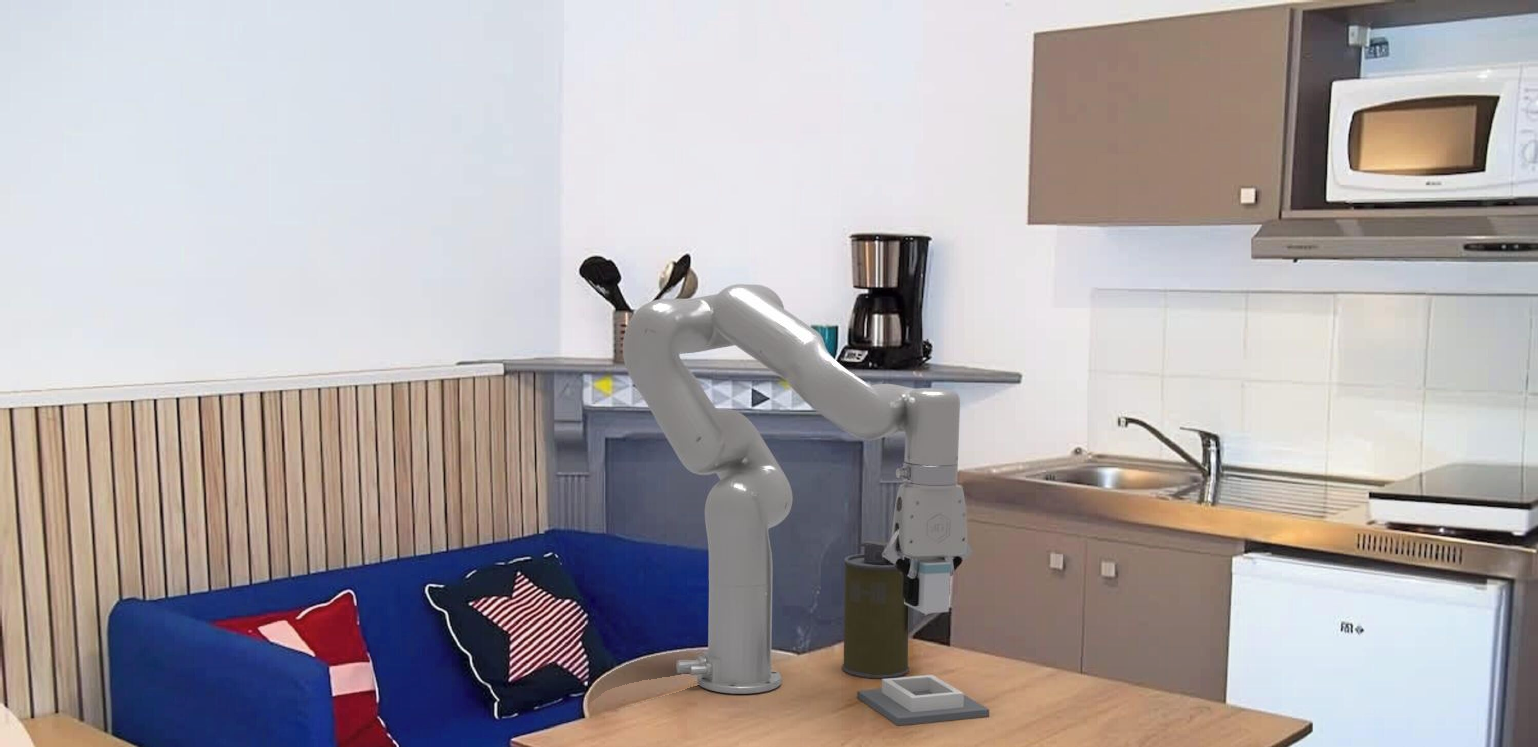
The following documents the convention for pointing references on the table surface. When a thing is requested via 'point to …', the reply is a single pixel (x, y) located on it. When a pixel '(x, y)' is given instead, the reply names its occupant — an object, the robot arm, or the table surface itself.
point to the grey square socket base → (921, 701)
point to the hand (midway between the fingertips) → (926, 601)
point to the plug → (933, 585)
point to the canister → (875, 616)
